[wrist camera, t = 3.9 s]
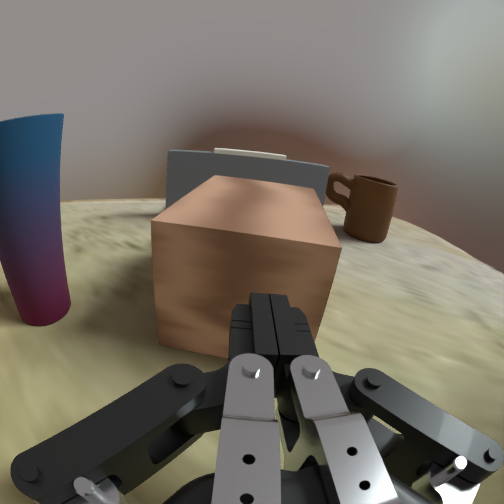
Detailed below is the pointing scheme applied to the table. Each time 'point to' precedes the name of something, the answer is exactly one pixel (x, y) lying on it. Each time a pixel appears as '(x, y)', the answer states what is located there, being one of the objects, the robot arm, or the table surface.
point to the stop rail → (239, 170)
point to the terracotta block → (238, 258)
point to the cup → (33, 217)
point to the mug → (365, 205)
